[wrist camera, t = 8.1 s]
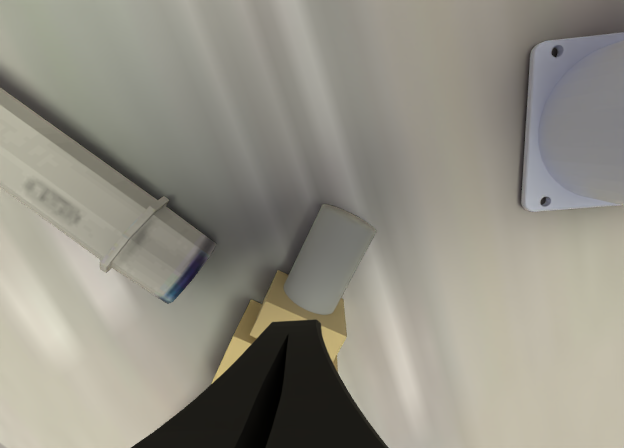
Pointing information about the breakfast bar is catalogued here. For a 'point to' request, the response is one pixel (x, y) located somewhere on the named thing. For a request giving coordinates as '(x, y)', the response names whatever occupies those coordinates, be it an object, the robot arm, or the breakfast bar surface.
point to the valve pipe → (310, 284)
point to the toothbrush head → (97, 204)
